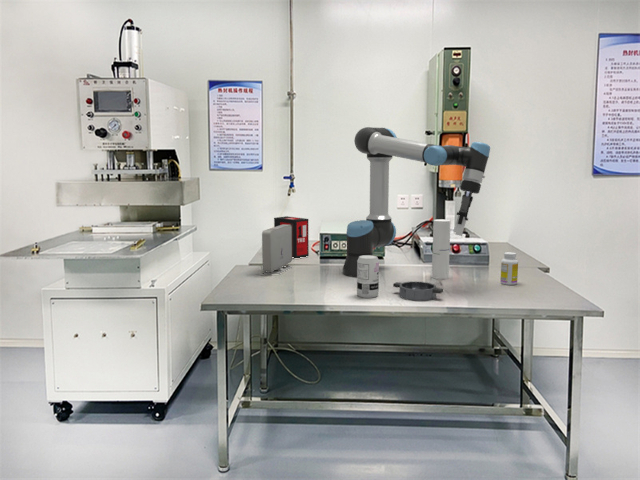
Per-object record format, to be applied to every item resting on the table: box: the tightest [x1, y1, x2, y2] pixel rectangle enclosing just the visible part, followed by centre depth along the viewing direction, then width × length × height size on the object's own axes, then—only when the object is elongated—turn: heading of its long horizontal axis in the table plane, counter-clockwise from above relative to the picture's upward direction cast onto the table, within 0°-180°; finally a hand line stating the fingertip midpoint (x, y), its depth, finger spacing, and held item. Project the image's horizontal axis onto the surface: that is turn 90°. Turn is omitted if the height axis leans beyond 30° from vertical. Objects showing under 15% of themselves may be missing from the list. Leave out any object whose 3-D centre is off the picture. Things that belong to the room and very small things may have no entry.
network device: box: [261, 224, 293, 275], centre depth 253 cm, size 26×9×20 cm, turn 161°
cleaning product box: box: [273, 215, 310, 259], centre depth 289 cm, size 16×9×20 cm, turn 46°
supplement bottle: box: [500, 251, 519, 286], centre depth 228 cm, size 7×7×13 cm
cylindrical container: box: [431, 218, 452, 280], centre depth 239 cm, size 7×7×25 cm
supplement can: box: [356, 254, 380, 299], centre depth 209 cm, size 8×8×15 cm
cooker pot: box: [393, 281, 444, 302], centre depth 209 cm, size 19×14×4 cm
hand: (457, 234), depth 218 cm, fingers open, 13 cm apart
